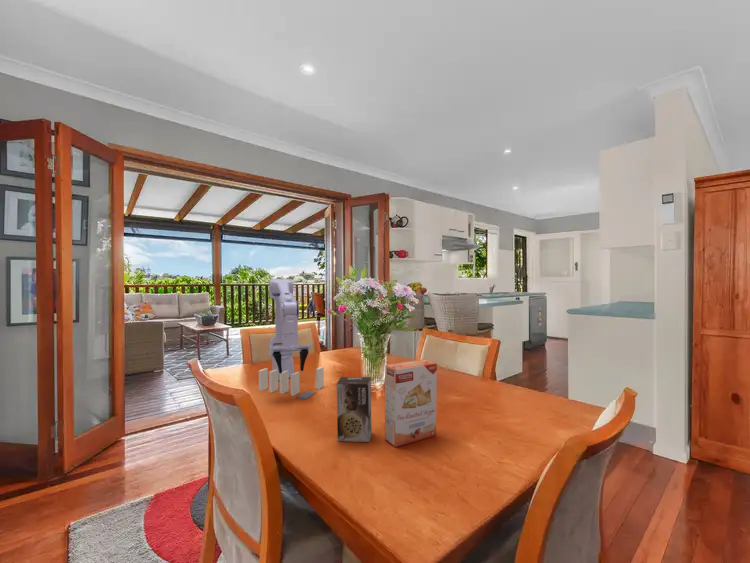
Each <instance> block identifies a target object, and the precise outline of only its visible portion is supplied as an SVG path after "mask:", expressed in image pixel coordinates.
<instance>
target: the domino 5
mask: <svg viewBox="0 0 750 563" xmlns="http://www.w3.org/2000/svg"><path fill="white" fill-rule="evenodd" d="M324 368H325V367H324V366H320V367H318V368H316V369H315V389H316V390H320V389H322V388H324V385H325V379H324V378H325V377H324V376H325V374H324V373H325V372H324V371H325V370H324Z"/></svg>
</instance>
